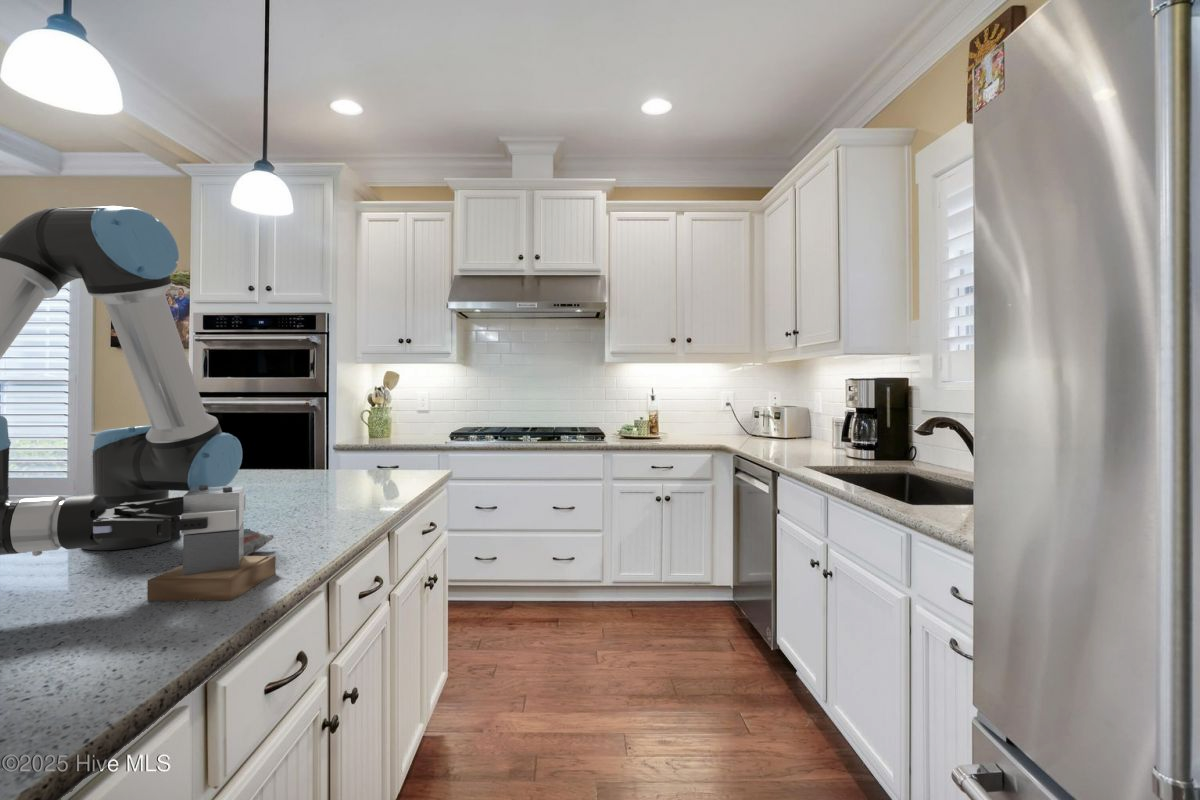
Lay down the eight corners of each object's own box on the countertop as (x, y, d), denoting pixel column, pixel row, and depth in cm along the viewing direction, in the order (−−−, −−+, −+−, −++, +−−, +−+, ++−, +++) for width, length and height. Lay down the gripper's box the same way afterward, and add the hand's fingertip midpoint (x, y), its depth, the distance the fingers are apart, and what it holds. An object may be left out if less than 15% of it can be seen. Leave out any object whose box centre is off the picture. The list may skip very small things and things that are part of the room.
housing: (191, 562, 89) (192, 484, 88) (243, 556, 92) (243, 481, 92) (183, 575, 82) (183, 491, 82) (238, 569, 86) (239, 488, 85)
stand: (202, 573, 93) (202, 554, 93) (275, 573, 93) (275, 554, 93) (147, 600, 81) (147, 578, 81) (231, 600, 81) (231, 578, 81)
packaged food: (273, 549, 108) (273, 524, 108) (239, 569, 96) (239, 541, 96) (226, 550, 107) (226, 525, 107) (186, 570, 95) (186, 542, 95)
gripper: (95, 528, 90) (248, 517, 100) (23, 575, 68) (230, 554, 77) (95, 483, 90) (248, 475, 99) (23, 514, 68) (230, 501, 77)
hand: (241, 510), depth 89 cm, fingers open, 13 cm apart
